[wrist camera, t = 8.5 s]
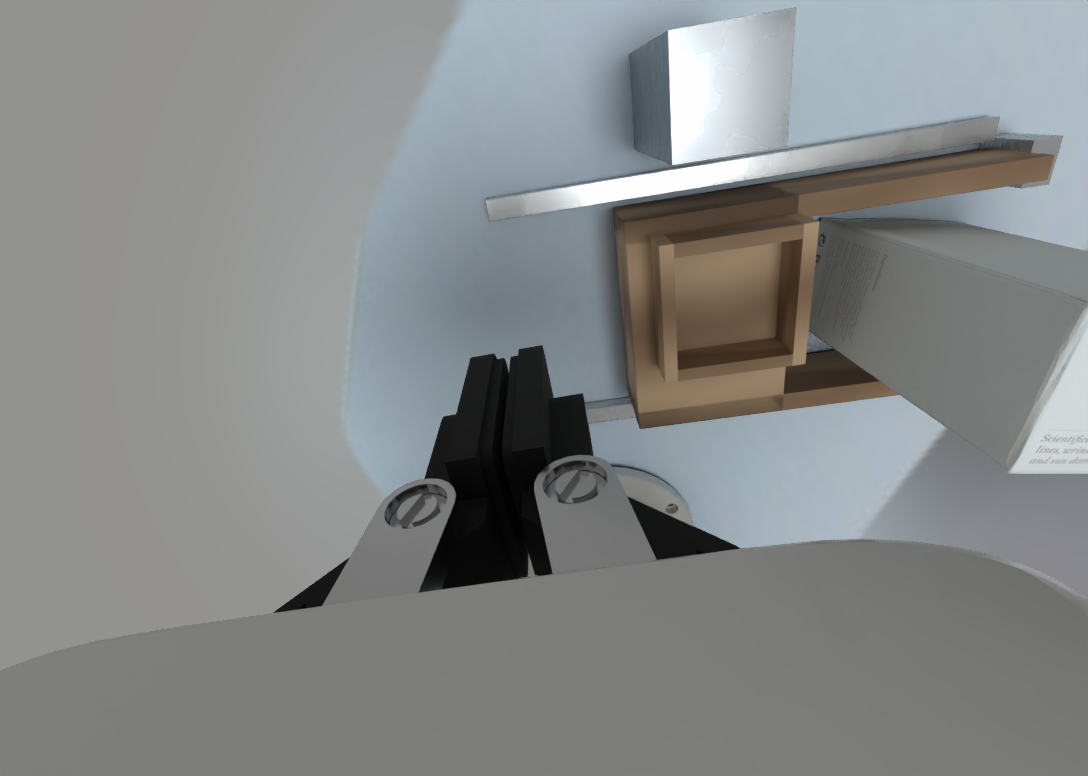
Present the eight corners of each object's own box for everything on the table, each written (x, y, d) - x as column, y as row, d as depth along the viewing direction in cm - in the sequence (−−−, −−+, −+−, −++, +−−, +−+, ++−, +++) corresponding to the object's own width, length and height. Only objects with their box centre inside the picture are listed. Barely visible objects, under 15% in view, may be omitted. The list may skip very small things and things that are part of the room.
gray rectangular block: (717, 136, 25) (786, 146, 18) (635, 149, 25) (672, 165, 18) (718, 38, 23) (796, 7, 16) (629, 54, 23) (668, 30, 16)
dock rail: (949, 368, 31) (987, 392, 29) (530, 424, 33) (530, 451, 30) (1013, 112, 25) (1069, 112, 22) (486, 198, 26) (481, 208, 24)
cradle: (936, 351, 30) (1019, 402, 25) (628, 393, 32) (646, 450, 26) (982, 148, 25) (1100, 158, 20) (612, 207, 26) (631, 232, 21)
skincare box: (788, 318, 30) (986, 484, 17) (819, 208, 27) (1087, 304, 14) (932, 323, 30) (1239, 490, 17) (977, 215, 27) (1391, 314, 14)
